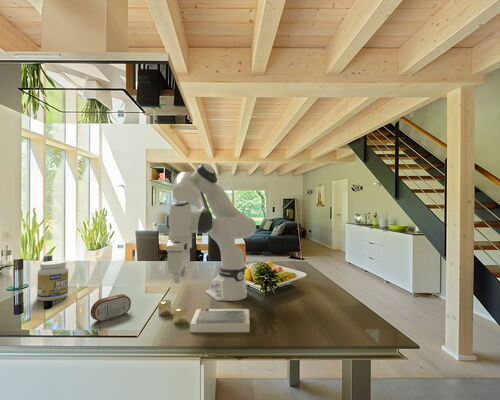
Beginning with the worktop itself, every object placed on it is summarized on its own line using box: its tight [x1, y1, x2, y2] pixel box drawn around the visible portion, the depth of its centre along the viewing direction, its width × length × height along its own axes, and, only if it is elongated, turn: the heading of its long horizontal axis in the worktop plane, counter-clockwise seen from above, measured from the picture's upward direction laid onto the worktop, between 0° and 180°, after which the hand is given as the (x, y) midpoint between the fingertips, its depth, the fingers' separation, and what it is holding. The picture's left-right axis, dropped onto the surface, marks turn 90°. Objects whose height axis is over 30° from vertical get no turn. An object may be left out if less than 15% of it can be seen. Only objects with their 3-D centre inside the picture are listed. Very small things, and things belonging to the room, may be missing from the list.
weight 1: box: [157, 299, 172, 318], centre depth 117 cm, size 5×5×5 cm
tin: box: [90, 293, 132, 322], centre depth 113 cm, size 15×3×8 cm, turn 141°
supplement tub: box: [36, 259, 69, 302], centre depth 137 cm, size 12×12×17 cm
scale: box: [189, 307, 250, 333], centre depth 107 cm, size 21×14×4 cm, turn 91°
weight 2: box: [172, 306, 188, 326], centre depth 109 cm, size 5×5×5 cm
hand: (180, 279), depth 109 cm, fingers open, 8 cm apart
